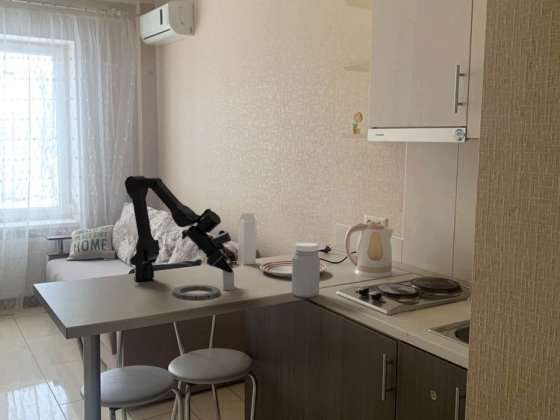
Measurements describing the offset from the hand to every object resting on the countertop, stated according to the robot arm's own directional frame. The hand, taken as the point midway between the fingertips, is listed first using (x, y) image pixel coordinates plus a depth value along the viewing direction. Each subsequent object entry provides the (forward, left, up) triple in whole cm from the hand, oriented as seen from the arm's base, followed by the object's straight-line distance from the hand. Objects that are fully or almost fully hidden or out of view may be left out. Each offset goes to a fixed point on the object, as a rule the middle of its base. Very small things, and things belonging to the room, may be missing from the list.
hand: (232, 270), depth 217 cm
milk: (+20, +41, -7) cm, 46 cm away
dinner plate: (+32, +17, -7) cm, 37 cm away
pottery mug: (+11, +44, -7) cm, 46 cm away
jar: (+22, -17, -7) cm, 28 cm away
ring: (-14, -5, -7) cm, 16 cm away
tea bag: (-1, 0, -7) cm, 7 cm away
